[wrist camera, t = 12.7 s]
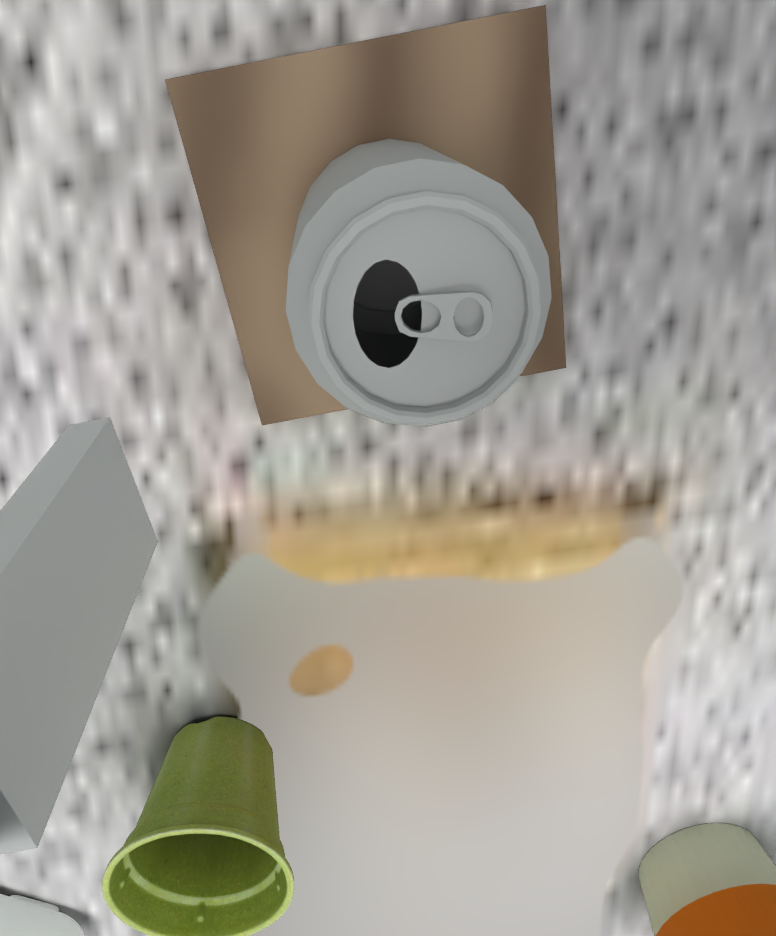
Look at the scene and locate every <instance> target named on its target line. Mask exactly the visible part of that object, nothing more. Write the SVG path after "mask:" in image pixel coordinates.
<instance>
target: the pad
mask: <svg viewBox="0 0 776 936" xmlns="http://www.w3.org/2000/svg"><path fill="white" fill-rule="evenodd" d="M165 81H166V85H167V88H168V92H169V96H170V99H171V103H172V106H173V110H174V113H175V117H176V120H177V124H178V128H179V131H180V135H181V138H182V142H183V145H184V149H185V152H186V156H187V160H188V163H189V167H190V170H191V174H192V177H193V181H194V185H195V188H196V192H197V195H198V199H199V202H200V206H201V209H202V213H203V217H204V220H205V224H206V227H207V231H208V234H209V238H210V241H211V245H212V249H213V252H214V256H215V259H216V263H217V266H218V270H219V274H220V277H221V281H222V284H223V288H224V291H225V295H226V298H227V302H228V306H229V309H230V313H231V316H232V320H233V323H234V327H235V330H236V334H237V338H238V341H239V345H240V348H241V352H242V355H243V359H244V363H245V366H246V370H247V373H248V377H249V380H250V384H251V387H252V391H253V395H254V398H255V402H256V405H257V409H258V412H259V416H260V419H261V423H262V425H267V424H272V423H277V422H282V421H288V420H293V419H298V418H304V417H309V416H314V415H319V414H325V413H330V412H335V411H340V410H346V409H348V408H346V407H345V406H344V405H342V404H341V403H340V402H339V401H338V400H336V399H335V398H334V397H333V396H332V395H330V394H329V393H328V392H327V391H326V390H324V389H323V388H322V387H321V386H319V385H318V384H317V383H316V381H315V379H314V378H313V376H312V375H311V373H310V372H309V370H308V368H307V367H306V365H305V364H304V362H303V361H302V359H301V357H300V356H299V354H298V353H297V351H296V349H295V345H294V341H293V337H292V333H291V329H290V325H289V322H288V318H287V314H286V296H287V282H288V267H289V262H290V257H291V251H292V246H293V241H294V236H295V231H296V225H297V220H298V215H299V213H300V210H301V208H302V205H303V203H304V200H305V198H306V195H307V193H308V190H309V188H310V186H311V185H312V183H313V182H314V181H315V180H316V179H317V177H318V176H319V175H320V174H321V173H322V171H323V170H324V169H325V168H326V167H327V165H328V164H329V163H330V162H331V161H333V160H334V159H336V158H338V157H339V156H341V155H343V154H344V153H346V152H347V151H349V150H351V149H352V148H354V147H356V146H357V145H361V144H366V143H371V142H376V141H380V140H385V139H394V140H401V141H408V142H416V143H421V144H423V145H425V146H427V147H429V148H431V149H433V150H435V151H437V152H439V153H441V154H443V155H445V156H447V157H449V158H451V159H454V160H456V161H458V162H460V163H462V164H464V165H466V166H468V167H470V168H471V169H473V170H475V171H477V172H479V173H481V174H483V175H485V176H487V177H488V178H490V179H492V180H494V181H496V182H498V183H500V184H502V185H503V186H504V187H505V188H506V189H507V190H508V191H509V192H510V193H511V195H512V196H513V197H514V198H515V199H516V200H517V201H518V202H519V203H520V204H521V206H522V207H523V208H524V209H525V210H526V211H527V212H528V213H529V214H530V215H531V217H532V218H533V221H534V223H535V225H536V228H537V230H538V232H539V235H540V237H541V240H542V242H543V244H544V247H545V249H546V251H547V254H548V256H549V270H550V283H551V296H552V298H551V303H550V307H549V311H548V315H547V320H546V324H545V328H544V332H543V337H542V339H541V341H540V342H539V344H538V346H537V348H536V349H535V351H534V353H533V355H532V356H531V358H530V360H529V361H528V363H527V365H526V367H525V368H524V370H523V372H522V373H521V374H520V376H525V375H530V374H535V373H540V372H546V371H551V370H556V369H561V368H566V356H565V339H564V321H563V304H562V286H561V268H560V251H559V233H558V215H557V198H556V180H555V163H554V145H553V127H552V110H551V92H550V75H549V57H548V39H547V22H546V5H544V6H539V7H534V8H529V9H523V10H518V11H513V12H508V13H503V14H498V15H493V16H488V17H483V18H477V19H472V20H467V21H462V22H457V23H452V24H447V25H442V26H437V27H432V28H426V29H421V30H416V31H411V32H406V33H401V34H396V35H391V36H386V37H380V38H375V39H370V40H365V41H360V42H355V43H350V44H345V45H340V46H335V47H329V48H324V49H319V50H314V51H309V52H304V53H299V54H294V55H289V56H284V57H278V58H273V59H268V60H263V61H258V62H253V63H248V64H243V65H238V66H232V67H227V68H222V69H217V70H212V71H207V72H202V73H197V74H192V75H187V76H181V77H176V78H171V79H166V80H165Z"/></svg>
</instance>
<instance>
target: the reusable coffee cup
mask: <svg viewBox="0 0 776 936" xmlns="http://www.w3.org/2000/svg"><path fill="white" fill-rule="evenodd" d="M639 881H640V884H641V888H642V892H643V896H644V899H645V903H646V907H647V911H648V914H649V918H650V922H651V926H652V930H653V933H654V936H776V865H775V864H774V863H773V861H772V860H771V858H770V857H769V856H768V854H767V853H766V852H765V850H764V849H763V848H762V846H761V845H760V844H759V842H758V841H757V840H756V838H755V837H754V836H753V835H752V834H751V833H750V832H749V831H748V830H746V829H744V828H742V827H740V826H736V825H732V824H726V823H707V824H701V825H696V826H692V827H689V828H685V829H682V830H680V831H678V832H675V833H673V834H671V835H669V836H668V837H666V838H664V839H663V840H661V841H660V842H658V843H657V844H656V845H655V846H653V847H652V848H651V849H650V850H649V852H648V853H647V854H646V855H645V857H644V858H643V860H642V862H641V864H640V867H639Z"/></svg>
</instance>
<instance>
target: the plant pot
mask: <svg viewBox="0 0 776 936" xmlns="http://www.w3.org/2000/svg"><path fill="white" fill-rule="evenodd" d="M102 892H103V897H104V899H105V901H106V903H107V905H108V906H109V908H110V910H111V911H112V912H113V913H114V914H115V915H116V916H117V917H118V918H119V919H120V920H121V921H122V922H124V923H125V924H127V925H128V926H130V927H132V928H134V929H135V930H138V931H140V932H142V933H144V934H147V935H149V936H249V935H251V934H254V933H256V932H258V931H260V930H262V929H264V928H266V927H267V926H269V925H270V924H272V923H273V922H274V921H276V920H277V919H278V918H280V917H281V916H282V915H283V913H284V912H285V911H286V909H287V908H288V906H289V905H290V903H291V900H292V898H293V894H294V877H293V873H292V869H291V867H290V865H289V863H288V861H287V859H286V858H285V853H284V849H283V846H282V843H281V841H280V837H279V826H278V814H277V803H276V791H275V778H274V767H273V752H272V748H271V746H270V745H269V743H268V741H267V739H266V737H265V736H264V734H263V732H262V731H261V730H260V729H258V728H257V727H255V726H254V725H252V724H250V723H248V722H246V721H243V720H240V719H236V718H231V717H213V718H211V719H209V720H206V721H204V722H201V723H193V724H188V725H187V726H185V727H184V728H182V729H181V730H180V731H179V732H178V733H177V734H176V735H175V737H174V738H173V740H172V742H171V745H170V747H169V749H168V752H167V754H166V756H165V759H164V761H163V764H162V766H161V769H160V771H159V774H158V776H157V778H156V781H155V783H154V785H153V788H152V790H151V792H150V795H149V797H148V799H147V802H146V804H145V807H144V809H143V811H142V814H141V816H140V818H139V821H138V823H137V826H136V828H135V829H134V830H133V831H132V833H131V834H130V835H129V837H128V838H127V840H126V842H125V844H124V846H123V847H122V848H121V849H120V850H119V851H118V852H117V853H116V854H115V855H114V856H113V858H112V859H111V860H110V862H109V864H108V866H107V868H106V870H105V873H104V876H103V881H102Z"/></svg>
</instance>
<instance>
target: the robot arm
mask: <svg viewBox="0 0 776 936" xmlns="http://www.w3.org/2000/svg"><path fill="white" fill-rule="evenodd" d="M157 542H158V540H157V538H156V535H155V533H154V530H153V527H152V525H151V522H150V520H149V517H148V515H147V512H146V509H145V507H144V504H143V502H142V499H141V496H140V494H139V491H138V489H137V486H136V484H135V481H134V478H133V476H132V473H131V471H130V468H129V465H128V463H127V460H126V458H125V455H124V453H123V450H122V447H121V445H120V442H119V440H118V437H117V434H116V432H115V429H114V427H113V424H112V422H111V419H110V418H104V419H99V420H94V421H88V422H83V423H78V424H72V425H69V426H68V427H67V428H66V430H65V431H64V432H63V433H62V435H61V436H60V437H59V438H58V440H57V441H56V442H55V443H54V445H53V446H52V447H51V448H50V450H49V451H48V452H47V453H46V455H45V456H44V457H43V458H42V460H41V461H40V462H39V463H38V465H37V466H36V467H35V468H34V470H33V471H32V472H31V473H30V475H29V476H28V477H27V478H26V480H25V481H24V482H23V483H22V485H21V486H20V487H19V488H18V490H17V491H16V492H15V493H14V494H13V496H12V497H11V498H10V499H9V501H8V502H7V503H6V504H5V506H4V507H3V508H2V509H1V511H0V854H6V853H11V852H17V851H23V850H28V849H34V848H37V847H38V845H39V842H40V840H41V837H42V835H43V832H44V830H45V827H46V825H47V822H48V819H49V817H50V814H51V812H52V809H53V807H54V804H55V802H56V799H57V797H58V794H59V791H60V789H61V786H62V784H63V781H64V779H65V776H66V774H67V771H68V769H69V766H70V763H71V761H72V758H73V756H74V753H75V751H76V748H77V746H78V743H79V741H80V738H81V736H82V733H83V730H84V728H85V725H86V723H87V720H88V718H89V715H90V713H91V710H92V708H93V705H94V702H95V700H96V697H97V695H98V692H99V690H100V687H101V685H102V682H103V680H104V677H105V674H106V672H107V669H108V667H109V664H110V662H111V659H112V657H113V654H114V652H115V649H116V647H117V644H118V641H119V639H120V636H121V634H122V631H123V629H124V626H125V624H126V621H127V619H128V616H129V613H130V611H131V608H132V606H133V603H134V601H135V598H136V596H137V593H138V591H139V588H140V586H141V583H142V580H143V578H144V575H145V573H146V570H147V568H148V565H149V563H150V560H151V558H152V555H153V552H154V550H155V547H156V545H157Z"/></svg>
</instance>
